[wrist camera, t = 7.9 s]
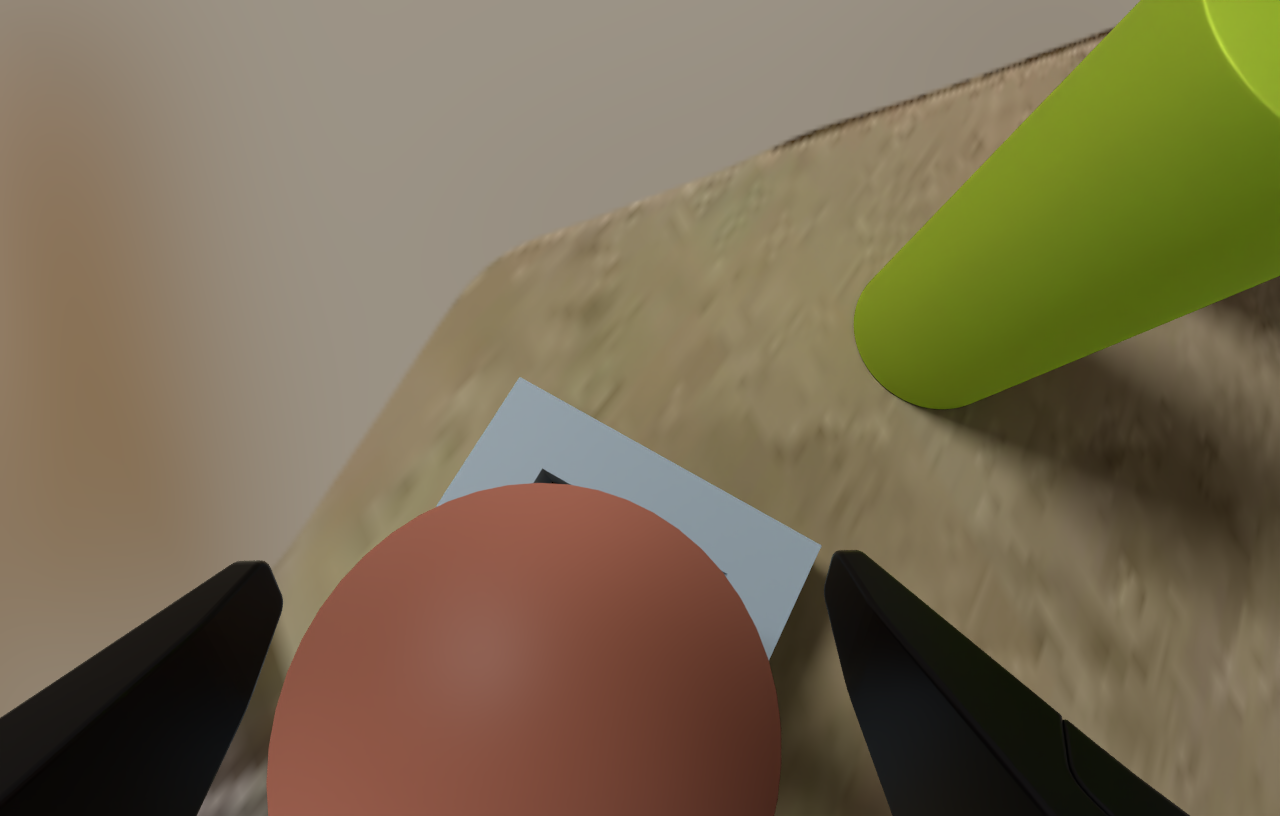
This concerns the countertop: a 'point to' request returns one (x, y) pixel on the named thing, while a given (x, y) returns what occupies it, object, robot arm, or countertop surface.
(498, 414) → the hole block
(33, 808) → the robot arm
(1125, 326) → the soap dispenser
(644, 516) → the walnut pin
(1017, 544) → the countertop surface
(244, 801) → the countertop surface
